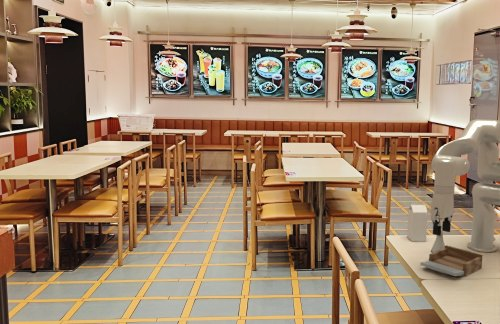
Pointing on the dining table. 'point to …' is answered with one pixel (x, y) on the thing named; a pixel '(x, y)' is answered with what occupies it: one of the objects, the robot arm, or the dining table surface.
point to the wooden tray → (457, 259)
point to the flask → (438, 243)
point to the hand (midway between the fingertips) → (441, 232)
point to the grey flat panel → (442, 268)
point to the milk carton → (417, 222)
